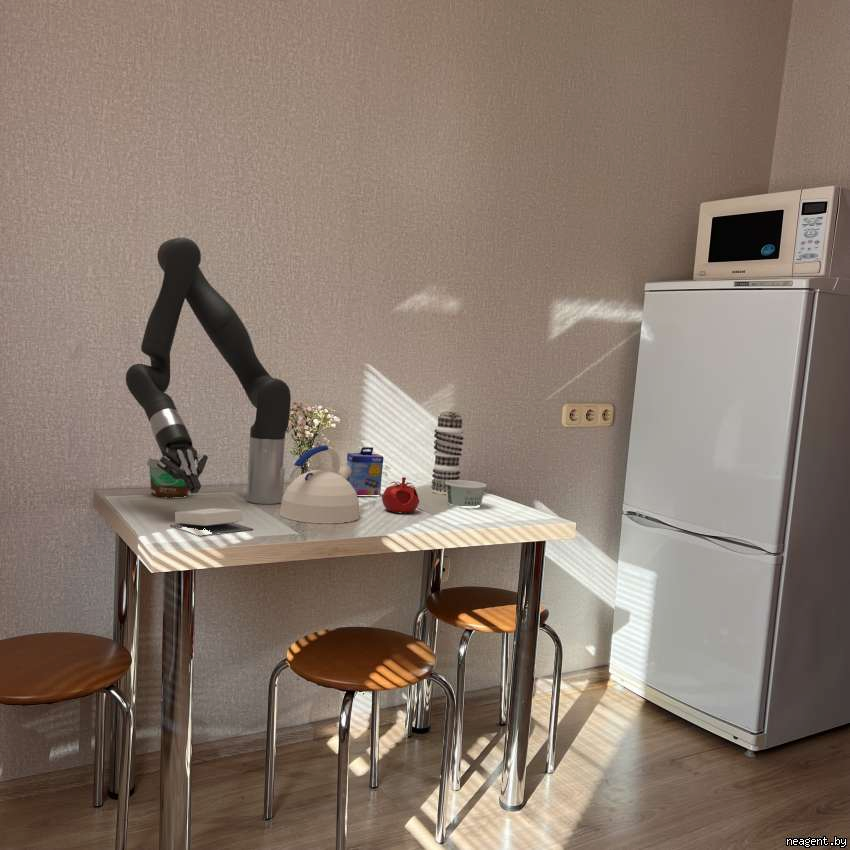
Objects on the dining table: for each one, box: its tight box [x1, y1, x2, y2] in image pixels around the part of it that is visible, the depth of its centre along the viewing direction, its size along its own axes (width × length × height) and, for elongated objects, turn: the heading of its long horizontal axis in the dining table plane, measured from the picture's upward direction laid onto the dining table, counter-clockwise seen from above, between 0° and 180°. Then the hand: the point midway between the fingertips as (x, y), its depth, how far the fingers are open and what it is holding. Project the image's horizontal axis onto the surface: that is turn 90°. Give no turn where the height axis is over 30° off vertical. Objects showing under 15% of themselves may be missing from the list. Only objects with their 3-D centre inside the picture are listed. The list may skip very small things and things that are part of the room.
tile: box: [174, 507, 244, 526], centre depth 201 cm, size 3×10×12 cm
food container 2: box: [445, 479, 488, 506], centre depth 253 cm, size 12×12×6 cm
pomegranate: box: [381, 476, 420, 514], centre depth 237 cm, size 10×10×9 cm
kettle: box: [279, 444, 360, 525], centre depth 223 cm, size 20×21×18 cm
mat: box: [169, 522, 254, 534], centre depth 200 cm, size 12×14×1 cm
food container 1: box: [146, 457, 189, 499], centre depth 233 cm, size 12×6×10 cm, turn 112°
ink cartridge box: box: [346, 446, 385, 496], centre depth 257 cm, size 10×6×14 cm, turn 114°
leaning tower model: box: [431, 411, 465, 492], centre depth 272 cm, size 9×9×25 cm
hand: (196, 491), depth 204 cm, fingers closed
